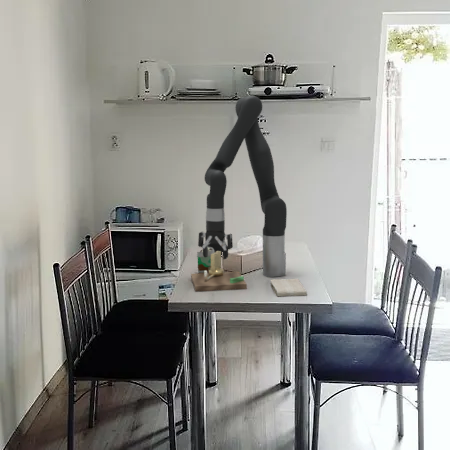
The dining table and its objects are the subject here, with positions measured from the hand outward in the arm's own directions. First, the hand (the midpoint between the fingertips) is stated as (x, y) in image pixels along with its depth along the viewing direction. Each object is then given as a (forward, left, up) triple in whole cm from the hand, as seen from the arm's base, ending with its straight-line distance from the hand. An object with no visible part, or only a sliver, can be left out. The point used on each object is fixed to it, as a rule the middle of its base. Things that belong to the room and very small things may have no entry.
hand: (215, 257), depth 250 cm
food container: (+2, -13, -9) cm, 16 cm away
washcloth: (-26, +19, -10) cm, 33 cm away
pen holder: (-5, -43, -9) cm, 44 cm away
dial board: (0, +6, -9) cm, 11 cm away
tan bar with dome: (+2, +3, -7) cm, 8 cm away
